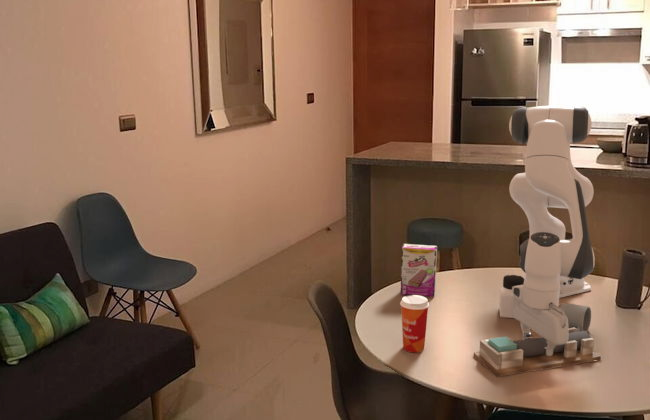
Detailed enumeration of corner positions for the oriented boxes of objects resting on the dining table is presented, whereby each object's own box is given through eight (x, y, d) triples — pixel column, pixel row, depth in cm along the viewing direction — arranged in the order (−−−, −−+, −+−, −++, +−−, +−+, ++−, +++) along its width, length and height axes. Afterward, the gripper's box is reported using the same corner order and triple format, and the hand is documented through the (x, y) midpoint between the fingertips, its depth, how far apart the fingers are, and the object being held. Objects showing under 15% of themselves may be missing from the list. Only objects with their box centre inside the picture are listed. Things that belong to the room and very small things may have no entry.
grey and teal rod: (578, 343, 181) (580, 325, 180) (590, 350, 176) (592, 333, 175) (487, 356, 173) (488, 339, 172) (498, 365, 169) (499, 347, 168)
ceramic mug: (562, 321, 198) (563, 297, 196) (590, 328, 193) (592, 303, 191) (549, 334, 190) (551, 309, 188) (579, 341, 185) (581, 315, 183)
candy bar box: (400, 295, 219) (401, 247, 215) (401, 290, 224) (402, 243, 220) (434, 298, 217) (436, 249, 213) (435, 292, 222) (437, 244, 218)
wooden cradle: (571, 341, 185) (572, 324, 183) (600, 359, 173) (602, 341, 172) (473, 355, 176) (474, 338, 175) (497, 376, 165) (498, 358, 164)
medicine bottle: (524, 319, 200) (527, 281, 197) (500, 317, 201) (502, 279, 198) (522, 310, 206) (525, 273, 204) (498, 308, 208) (501, 271, 205)
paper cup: (394, 345, 183) (394, 296, 180) (418, 340, 186) (419, 292, 183) (409, 356, 176) (410, 306, 173) (433, 351, 179) (435, 302, 176)
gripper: (577, 310, 162) (572, 362, 165) (529, 282, 181) (525, 330, 184) (554, 313, 160) (550, 366, 164) (508, 285, 179) (505, 333, 183)
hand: (537, 346), depth 174 cm, fingers open, 8 cm apart
